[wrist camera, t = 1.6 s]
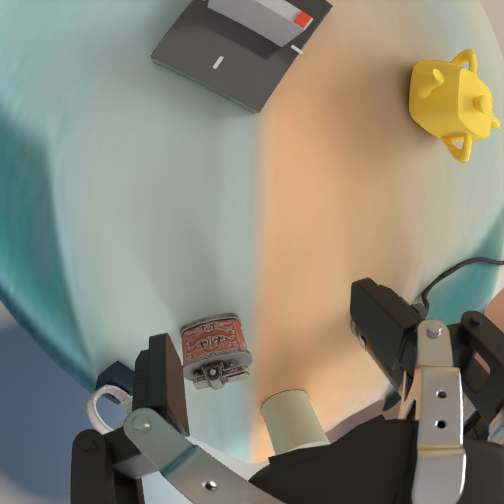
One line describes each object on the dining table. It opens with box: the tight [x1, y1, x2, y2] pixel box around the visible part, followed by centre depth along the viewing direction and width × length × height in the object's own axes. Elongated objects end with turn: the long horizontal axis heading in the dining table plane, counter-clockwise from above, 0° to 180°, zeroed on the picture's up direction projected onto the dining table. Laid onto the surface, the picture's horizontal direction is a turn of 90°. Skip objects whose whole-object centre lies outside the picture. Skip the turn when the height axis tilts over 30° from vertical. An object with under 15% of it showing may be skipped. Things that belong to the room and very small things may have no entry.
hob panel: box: [151, 0, 333, 114], centre depth 22 cm, size 16×13×3 cm
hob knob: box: [208, 0, 313, 47], centre depth 18 cm, size 8×2×6 cm, turn 59°
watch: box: [87, 361, 135, 435], centre depth 33 cm, size 6×8×11 cm
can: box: [261, 390, 330, 455], centre depth 43 cm, size 9×9×12 cm
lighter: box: [181, 313, 252, 390], centre depth 32 cm, size 8×3×10 cm, turn 101°
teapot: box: [409, 49, 500, 163], centre depth 26 cm, size 14×13×10 cm
